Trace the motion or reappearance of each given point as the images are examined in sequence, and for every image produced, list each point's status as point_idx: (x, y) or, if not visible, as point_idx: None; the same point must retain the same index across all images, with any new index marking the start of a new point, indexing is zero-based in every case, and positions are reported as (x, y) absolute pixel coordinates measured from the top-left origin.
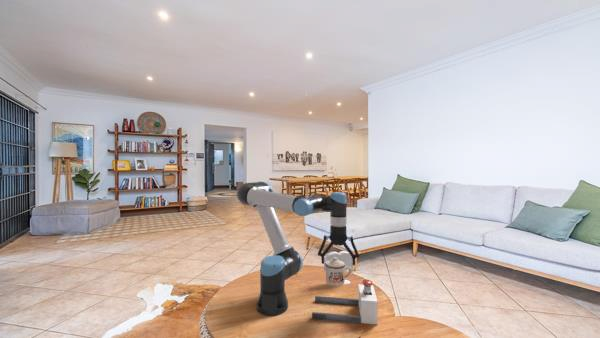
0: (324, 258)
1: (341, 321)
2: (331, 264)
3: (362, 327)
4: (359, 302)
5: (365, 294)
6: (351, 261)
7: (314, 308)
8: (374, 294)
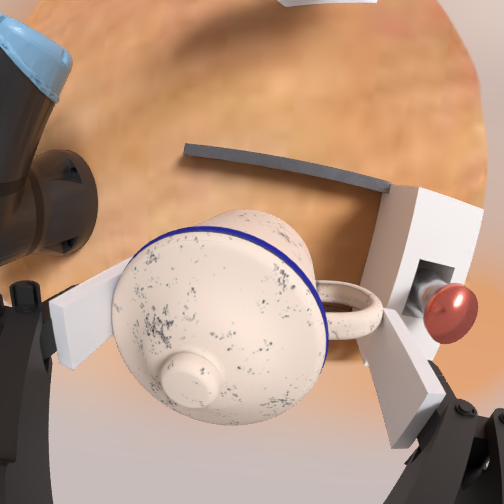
0: (70, 360)
1: None
2: (163, 396)
3: (344, 340)
4: (380, 255)
5: (413, 299)
6: (391, 426)
7: (186, 208)
8: None
